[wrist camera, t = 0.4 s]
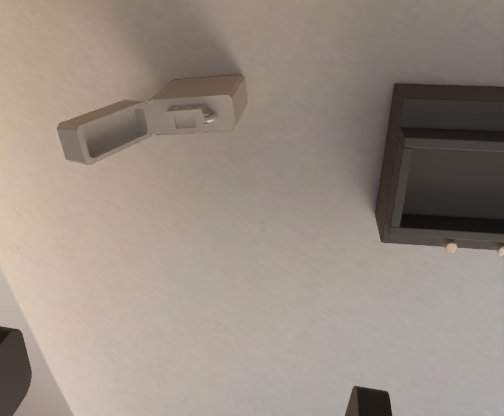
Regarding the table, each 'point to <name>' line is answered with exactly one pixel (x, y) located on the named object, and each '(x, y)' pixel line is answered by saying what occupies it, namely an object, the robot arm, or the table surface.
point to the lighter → (155, 117)
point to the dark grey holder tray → (444, 168)
